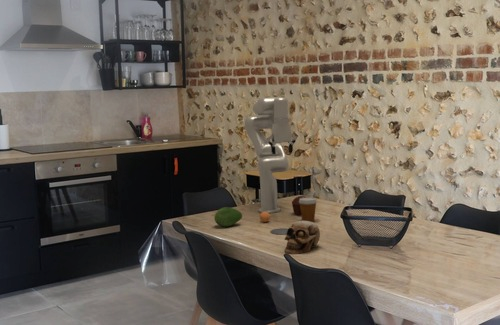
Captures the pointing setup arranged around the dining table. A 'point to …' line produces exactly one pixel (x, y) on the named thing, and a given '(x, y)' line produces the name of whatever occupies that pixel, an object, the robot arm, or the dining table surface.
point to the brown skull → (302, 237)
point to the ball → (265, 216)
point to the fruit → (227, 216)
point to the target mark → (279, 231)
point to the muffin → (297, 205)
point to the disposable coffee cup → (307, 208)
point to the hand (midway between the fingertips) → (282, 153)
